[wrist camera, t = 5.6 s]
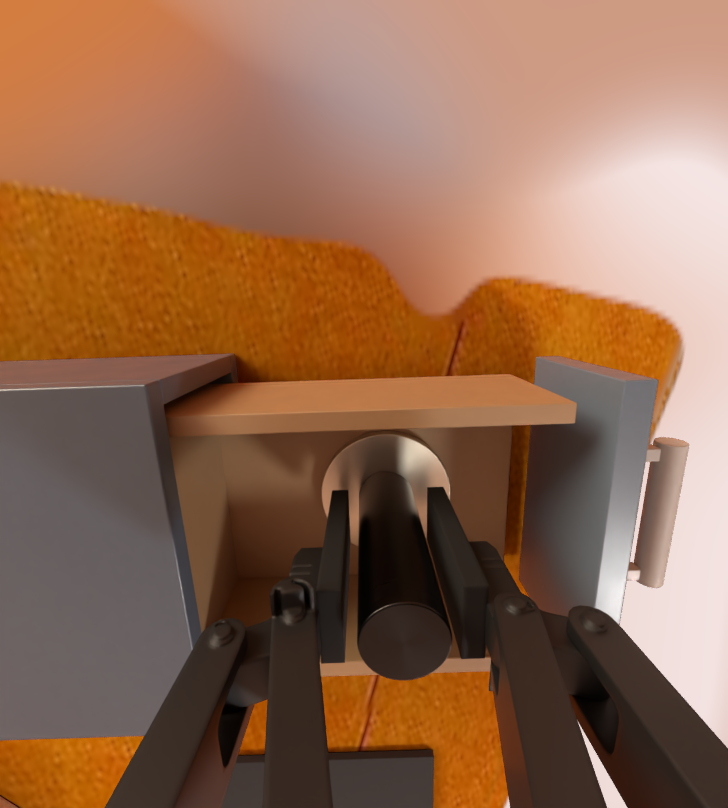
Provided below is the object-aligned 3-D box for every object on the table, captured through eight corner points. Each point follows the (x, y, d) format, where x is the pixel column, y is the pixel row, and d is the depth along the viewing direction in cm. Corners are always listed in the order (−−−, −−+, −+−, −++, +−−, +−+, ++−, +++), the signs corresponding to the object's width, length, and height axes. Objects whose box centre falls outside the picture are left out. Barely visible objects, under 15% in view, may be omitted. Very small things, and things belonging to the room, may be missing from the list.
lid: (449, 428, 19) (530, 536, 10) (446, 543, 21) (514, 728, 12) (318, 432, 19) (277, 545, 10) (325, 547, 21) (297, 735, 12)
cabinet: (235, 353, 21) (145, 384, 12) (262, 584, 24) (207, 734, 16) (-126, 365, 21) (-472, 404, 12) (-46, 594, 24) (-268, 749, 16)
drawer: (627, 353, 20) (763, 375, 13) (596, 576, 23) (693, 685, 16) (204, 367, 20) (123, 397, 13) (234, 587, 23) (182, 701, 16)
